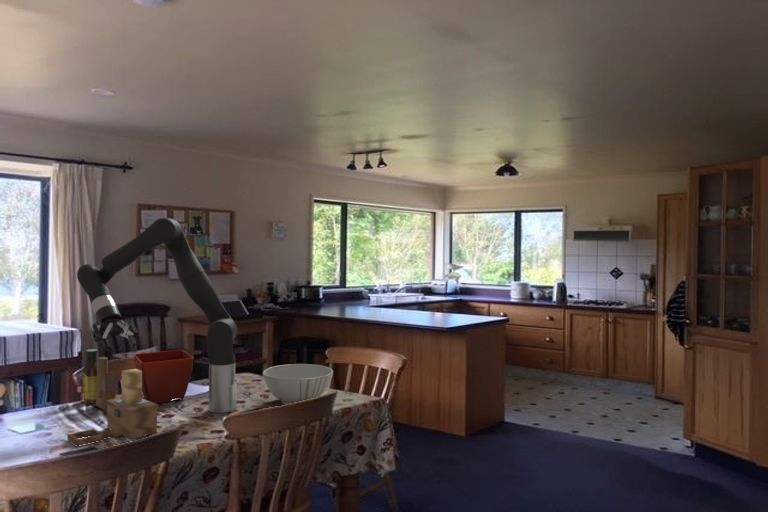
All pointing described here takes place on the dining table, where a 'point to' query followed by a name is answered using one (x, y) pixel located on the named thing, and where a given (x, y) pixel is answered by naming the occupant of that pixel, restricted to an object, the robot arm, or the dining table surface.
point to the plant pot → (164, 374)
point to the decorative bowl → (297, 381)
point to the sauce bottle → (90, 376)
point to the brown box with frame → (122, 422)
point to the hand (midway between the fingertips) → (121, 347)
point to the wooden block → (104, 383)
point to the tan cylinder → (131, 386)
